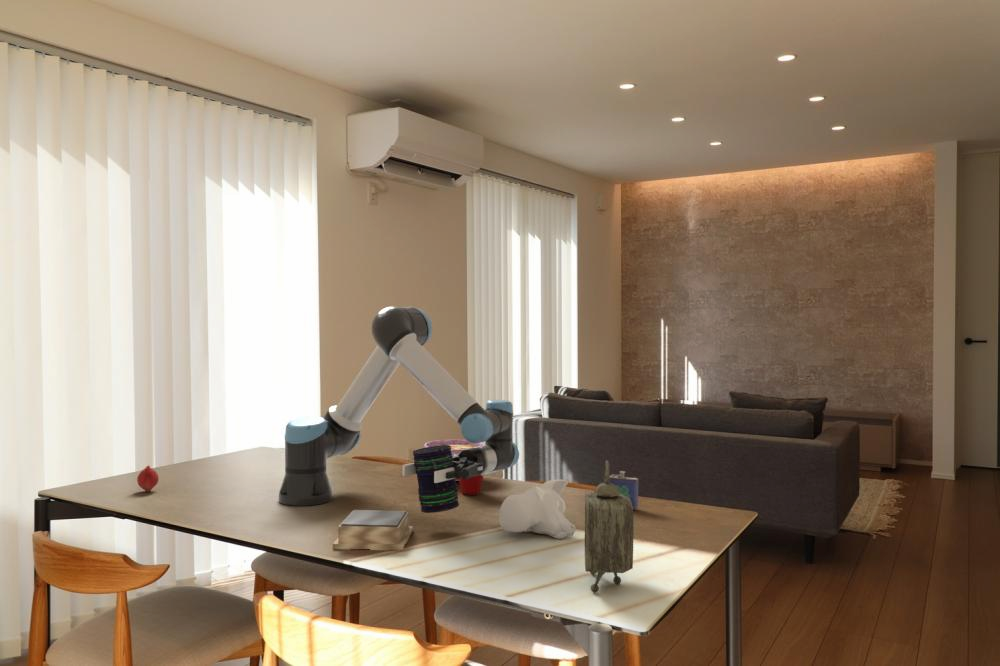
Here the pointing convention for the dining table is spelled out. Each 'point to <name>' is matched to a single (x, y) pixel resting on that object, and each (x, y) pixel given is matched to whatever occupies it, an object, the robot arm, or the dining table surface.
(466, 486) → the plastic cup
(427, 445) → the bowl of food
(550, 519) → the fox head
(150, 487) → the onion
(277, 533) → the dining table surface
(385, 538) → the plinth
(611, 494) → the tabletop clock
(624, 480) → the flask
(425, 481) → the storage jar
